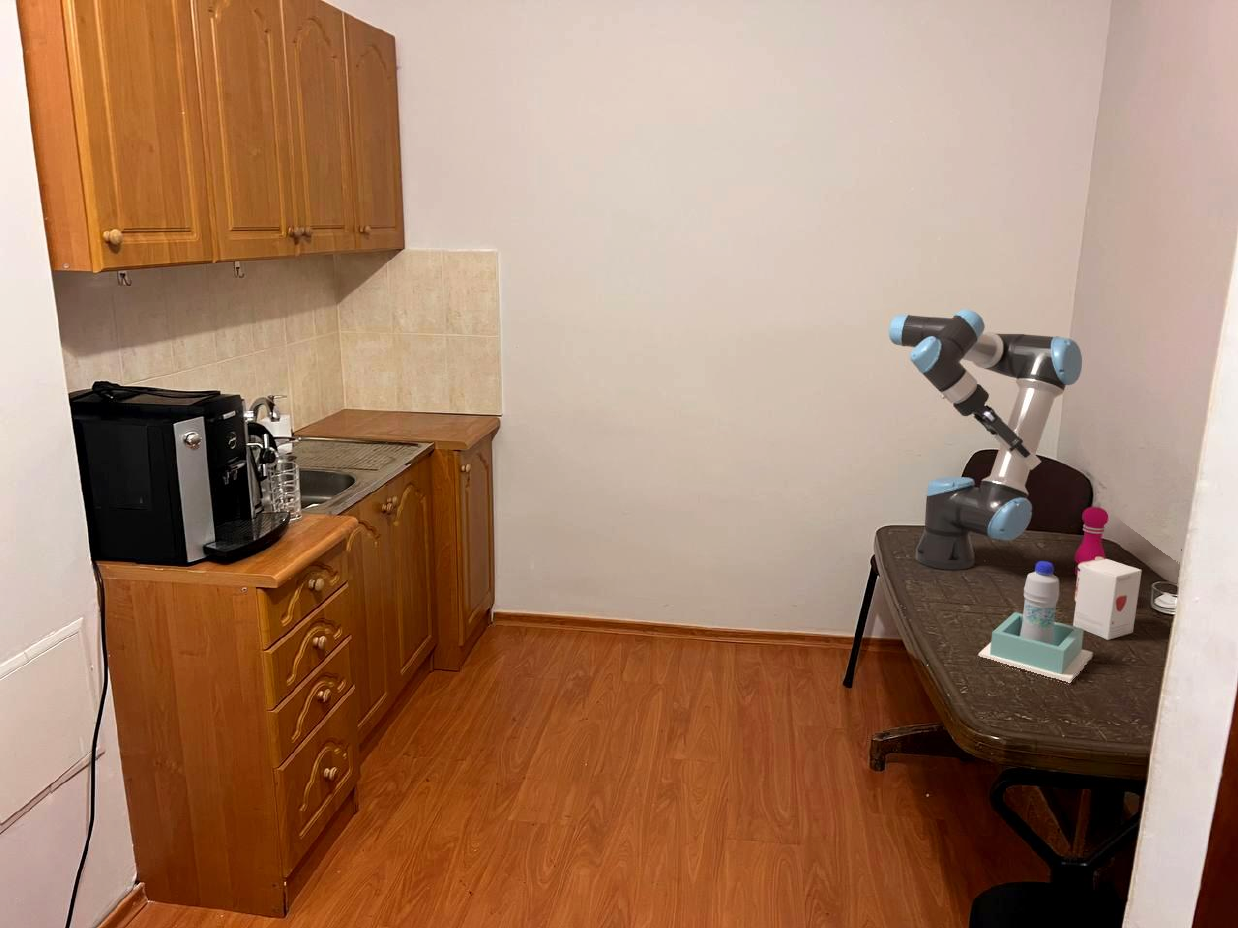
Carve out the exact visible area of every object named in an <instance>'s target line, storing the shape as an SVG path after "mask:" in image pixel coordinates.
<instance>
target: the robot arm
mask: <svg viewBox="0 0 1238 928" xmlns="http://www.w3.org/2000/svg"><path fill="white" fill-rule="evenodd" d="M889 324H890V325H889V328H888V336H889V339H890V341H891V343H893V344H894V345H896V346H901V347H910V348H913V349H912V351H910V355H909V359H910V361H911V363H912V364H913V365H914V366H915V368H916V369H917V370H918V372H919V373H921V374H922V375H923V376H924V377H925V378H926V379H927V380H928V381H929V382H930V383H931V384H932V385H933V386H934V387H935V388H936V389H937V391H939V392H940V394H941V396H940V397H941V399H943V400H944V399H946V400H947V401H948V402H949V403H950V404H952V405H953V408H954V409H955V410H957V412H958V413H959V414H960V415H961V416H963V417H968V416H971V415H973V418H974V419H976V421H977V422H979V423H980V424H981V426H983V427H984V428H985V429H986V431H987V432H988V433H990V434H991V435H992V436H993V438H994V439H996V440H997V442H998V443H999V444H1000V445H999V449H998V452H997V454H996V458H995V460H994V463H993V466H992V469H991V473H990V474H989V476H987V477H985V478H983V479H982V480H981V482H980V485H979V487H977V486H976V483H975V480H974V479H973V478H971V477H963V476H946V477H939V478H938V477H937V478H935V479H934V478H933V479H932V480H931V481H929V483H928V486H927V491H926V494H925V495H926V503H925V516H924V529H923V533H922V535H921V538H920V540H919V543H918V544H917V547H916V549H915V558H914V559H915V560H916V561H917V562H918V563H920V564H922V565H924V566H926V567H931V568H934V569H940V570H950V571H951V570H952V571H953V570H954V571H959V570H966V569H969V568H972V567H973V566H974V564H975V553H974V548H973V545H972V541H971V538H970V537H971V536H970V534H971V533H975V534H978V535H982V536H985V537H988V538H991V539H994V540H1001V541H1005V542H1006V541H1007V542H1009V541H1013V540H1015V539H1017V538H1018V537H1020V536H1021V535H1023V533H1024V532H1025V531H1026V529H1027V528H1028V527H1029V524H1030V523H1031V519H1032V516H1033V511H1032V510H1033V505H1032V503H1031V501H1030V500H1029V499H1028V496H1029V492H1028V490H1027V488H1026V483H1027V481H1028V476H1029V473H1030V471H1031V470H1034V469H1035V468H1036V467H1037V466H1038V465H1040V463H1042V460H1040V458H1039V457H1038V456H1037V451H1038V448H1039V445H1040V442H1041V438H1042V436H1043V433H1044V431H1045V427H1046V426H1047V425H1046V424H1047V421H1048V418H1049V415H1050V413H1051V410H1052V407H1053V403H1054V401H1055V399H1056V398H1057V397H1059V396H1061V395H1063V394H1064V391H1065V388H1066V386H1071V385H1074V384H1076V382H1077V381H1078V380H1079V378H1080V376H1081V372H1082V367H1083V359H1082V358H1083V355H1082V352H1081V351H1082V350H1081V349H1080V346H1079V345H1078V343H1077V342H1076V341H1075V340H1074V339H1071V338H1067V337H1066V338H1065V337H1061V336H1049V335H1048V336H1047V335H1037V334H1025V333H995V332H991V331H986V332H984V331H985V327H986V326H985V322H984V319H983V318H982V317H981V316H980V314H978V313H977V312H975V311H973V310H971V309H962V310H960V311H958V312H957V313H955V314H954V315H953V316H952V317H951V318H949V317H935V316H920V315H911V314H905V315H904V314H901V315H900V314H899V315H896V316H895V317H894V318H893V319H892V320H891V321H890V323H889ZM962 360H964V361H969V362H972V363H973V364H974V365H975V366H976V367H978V368H981V369H984V370H987V371H991V372H994V373H997V374H999V375H1001V376H1005V377H1009V378H1015V379H1016V380H1015V383H1016V384H1017V387H1018V388H1019V389H1018V394H1017V397H1016V399H1015V402H1014V405H1013V408H1012V411H1011V414H1010V416H1009V420H1008V422H1007V424H1006V423H1005V422H1004V420H1003V419H1002V418H1001V417H1000V416H999V414H997V413H996V411H995V410H994V409H993V408H992V407H991V406H990V405H988V404H986V403H987V402H988V400H989V397H990V394H989V392H988V391H987V390H985V388H984V386H982V385H981V384H979V383H978V380H977V379H976V378H974V376H973V375H972V374H971V373H970V372H969V371H968V370H967V369H966V368H965V367H964V366H963V364H961V361H962ZM985 404H986V405H985Z"/></svg>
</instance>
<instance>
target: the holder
mask: <svg viewBox="0 0 1238 928" xmlns="http://www.w3.org/2000/svg"><path fill="white" fill-rule="evenodd" d="M1022 623H1023V613H1021V612H1016V611H1015V612H1013V613H1012V614H1011V615H1010V616H1009V617H1007V618H1006V619H1005V620H1004V621H1003V622H1001V624H1000V625H999V626H998V627H996V629H994V630H993V631H992V632H991V639H990V642H989V643H988V644H987V645H986V646H985V647H984V648H982V650H981V651H980V652H979V653H978V655H977V656H980V657H983V658H987V659H991V660H994V661H997V662H1000V663H1003V664H1007V665H1009V666H1014V667H1017V668H1021V669H1025V670H1027V671H1031V672H1034V673H1037V674H1041V675H1044V676H1047V677H1051V678H1056V679H1059V680H1062V681H1066V682H1068V683H1071V682H1072V680H1073V679H1074V678H1075V677H1076V676H1077V677H1078V676H1079V674H1080V673H1081V672H1082V671H1083V669H1084V668H1085V667H1086V666H1085V665H1087V664H1088V663H1089V662H1090V661H1091V660H1092V658H1093V655H1094V652H1093V651H1090V650H1086V649H1083V648H1082V647H1083V639H1084V638H1083V637H1084V632H1085V630H1084V629H1082V628H1078V627H1075V626H1073V625H1069V624H1066V623H1060V622H1058V621H1057V622H1056V621H1054V626H1053V644H1052V645H1051V644H1047V643H1043V642H1039V641H1035V640H1031V639H1027V638H1024V637H1020V633H1021V628H1022ZM1089 660H1090V661H1089ZM1088 661H1089V662H1088ZM1087 662H1088V663H1087ZM1084 666H1085V667H1084ZM1080 671H1081V672H1080ZM1077 677H1076V678H1077ZM1076 678H1075V679H1076ZM1075 679H1074V680H1075ZM1074 680H1073V681H1074ZM1072 683H1073V682H1072ZM1072 683H1071V684H1072Z"/></svg>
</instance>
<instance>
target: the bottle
mask: <svg viewBox="0 0 1238 928" xmlns="http://www.w3.org/2000/svg"><path fill="white" fill-rule="evenodd" d="M1024 584H1025V585H1024V587H1023V596H1024V605H1023V606H1024V607H1023V612H1022V614H1023V623H1022V628H1021V633H1020V637H1024V638H1027V639H1031V640H1035V641H1039V642H1043V643H1047V644H1051V645H1052V644H1053V626H1054V622H1055V618H1056V617H1055V616H1056V609H1057V603H1058V602H1059V596H1060V580H1059V577H1058V576H1055V575H1054V565H1053V563H1051V562H1049V561H1045V560H1040V561H1037V562H1036V563H1035V569H1034V571H1033V572H1031V573H1028V574H1027V577H1026V581H1025V583H1024Z"/></svg>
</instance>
